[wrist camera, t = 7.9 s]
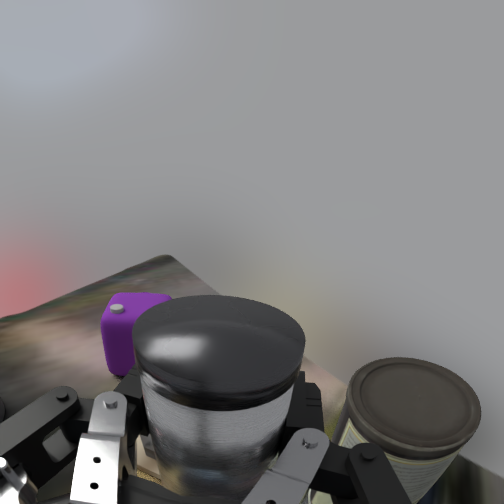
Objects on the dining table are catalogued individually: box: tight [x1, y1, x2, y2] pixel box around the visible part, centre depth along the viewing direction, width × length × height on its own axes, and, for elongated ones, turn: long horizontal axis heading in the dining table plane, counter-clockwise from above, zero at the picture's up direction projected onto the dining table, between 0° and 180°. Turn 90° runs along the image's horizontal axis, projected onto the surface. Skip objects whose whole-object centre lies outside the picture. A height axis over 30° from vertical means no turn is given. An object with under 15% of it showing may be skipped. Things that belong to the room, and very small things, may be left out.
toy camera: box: [101, 292, 172, 376], centre depth 40 cm, size 11×14×10 cm
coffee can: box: [308, 357, 481, 504], centre depth 18 cm, size 10×10×14 cm
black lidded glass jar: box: [132, 295, 305, 504], centre depth 10 cm, size 5×5×10 cm
